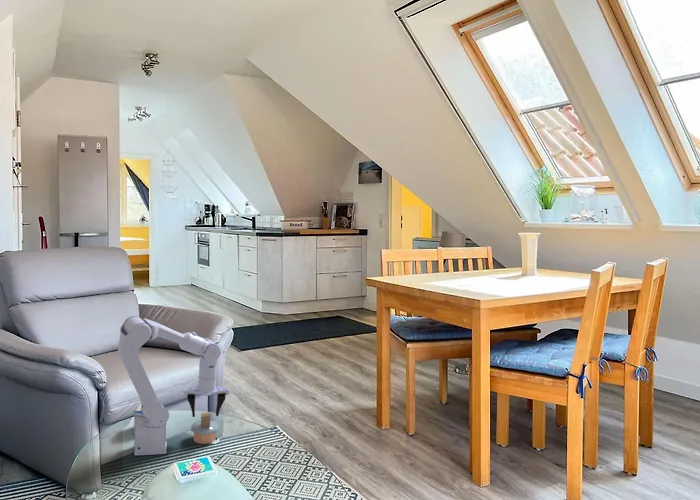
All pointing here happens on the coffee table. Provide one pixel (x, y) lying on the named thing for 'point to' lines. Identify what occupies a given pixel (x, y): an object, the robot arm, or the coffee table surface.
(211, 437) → the bowl
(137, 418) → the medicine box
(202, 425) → the lid
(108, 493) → the coffee table surface
